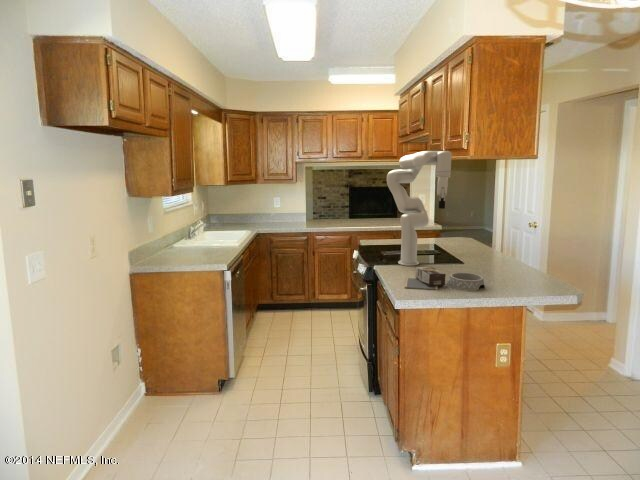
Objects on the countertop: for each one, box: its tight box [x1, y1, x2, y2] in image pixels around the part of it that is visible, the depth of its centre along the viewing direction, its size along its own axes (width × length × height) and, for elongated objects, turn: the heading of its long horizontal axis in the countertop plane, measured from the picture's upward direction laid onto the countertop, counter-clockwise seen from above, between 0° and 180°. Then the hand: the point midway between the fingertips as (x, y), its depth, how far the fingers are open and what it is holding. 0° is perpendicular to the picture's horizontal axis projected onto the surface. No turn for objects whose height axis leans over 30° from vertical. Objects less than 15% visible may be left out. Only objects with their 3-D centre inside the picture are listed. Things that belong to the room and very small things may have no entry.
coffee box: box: [415, 266, 447, 287], centre depth 235 cm, size 9×6×16 cm
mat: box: [404, 277, 439, 291], centre depth 234 cm, size 18×16×1 cm
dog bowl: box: [447, 271, 485, 292], centre depth 231 cm, size 17×18×5 cm
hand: (441, 208), depth 248 cm, fingers closed
